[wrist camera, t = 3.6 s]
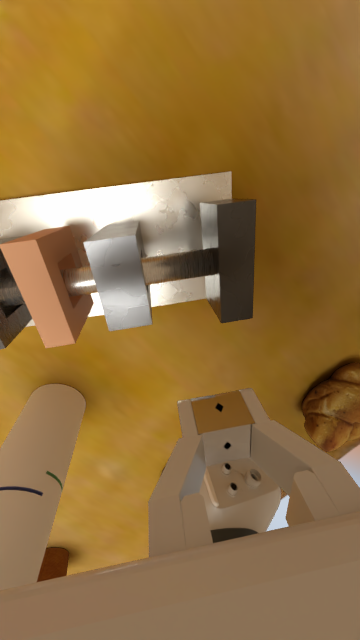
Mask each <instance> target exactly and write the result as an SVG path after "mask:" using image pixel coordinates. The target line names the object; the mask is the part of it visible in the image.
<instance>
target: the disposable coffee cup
mask: <svg viewBox="0 0 360 640" xmlns="http://www.w3.org/2000/svg"><path fill="white" fill-rule="evenodd" d="M68 557H69V552H68V551H67V550H65V549H63V548H47V549H46V550H45V554H44V557H43V561H42V564H41V568H40V571H39V575H38V579H37V582H41V581H45V580H50V579H54V578H59V577H63V576H66V575H67V566H68Z"/></svg>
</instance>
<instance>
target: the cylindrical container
mask: <svg viewBox="0 0 360 640" xmlns="http://www.w3.org/2000/svg"><path fill="white" fill-rule="evenodd" d="M85 408H86V402H85V399H84V397H83V396H82V394H81V393H80V392H79V391H77V390H76V389H74V388H73V387H70V386H67V385H63V384H48V385H44V386H41V387H39V388H37V389H36V390H35V391H34V392H33V393H32V394H31V396H30V398H29V399H28V401H27V403H26V405H25V406H24V408H23V410H22V412H21V413H20V415H19V417H18V419H17V420H16V422H15V424H14V426H13V427H12V429H11V431H10V433H9V434H8V436H7V438H6V440H5V441H4V443H3V445H2V447H1V448H0V590H4V589H9V588H14V587H18V586H23V585H27V584H32V583H36V582H37V579H38V575H39V571H40V568H41V564H42V561H43V557H44V554H45V550H46V547H47V543H48V539H49V536H50V532H51V529H52V525H53V522H54V518H55V515H56V511H57V507H58V504H59V500H60V497H61V493H62V490H63V486H64V483H65V479H66V475H67V472H68V468H69V465H70V461H71V458H72V454H73V451H74V447H75V444H76V440H77V436H78V433H79V429H80V426H81V422H82V419H83V415H84V412H85Z"/></svg>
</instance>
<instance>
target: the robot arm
mask: <svg viewBox="0 0 360 640" xmlns="http://www.w3.org/2000/svg"><path fill="white" fill-rule="evenodd" d="M177 403H178V411H179V417H180V424H181V430H182V436H183V438H179V439H178V441H177V444H176V446H175V448H174V450H173V452H172V454H171V456H170V458H169V460H168V462H167V464H166V466H165V468H164V470H163V472H162V475H161V477H160V479H159V481H158V483H157V485H156V487H155V489H154V491H153V493H152V495H151V498H150V500H149V558H144V559H140V560H135V561H131V562H126V563H122V564H117V565H113V566H108V567H104V568H99V569H95V570H90V571H86V572H81V573H77V574H72V575H68V576H63V577H59V578H54V579H50V580H45V581H41V582H36V583H32V584H27V585H23V586H18V587H14V588H9V589H4V590H0V640H360V488H359V487H358V485H357V484H356V483H355V481H354V480H353V478H352V477H351V476H350V474H349V473H348V472H347V470H346V469H345V468H344V466H343V465H342V464H341V462H339V461H338V460H336V459H335V458H333V457H331V456H330V455H328V454H327V453H325V452H324V451H322V450H320V449H319V448H317V447H316V446H314V445H313V444H311V443H309V442H308V441H306V440H305V439H303V438H302V437H300V436H298V435H297V434H295V433H294V432H292V431H290V430H289V429H287V428H286V427H284V426H283V425H281V424H279V423H278V422H276V421H275V420H273V421H270V419H269V417H268V416H267V414H266V412H265V410H264V409H263V407H262V405H261V403H260V401H259V400H258V398H257V396H256V394H255V393H254V391H253V389H251V388H247V389H242V390H236V391H231V392H226V393H221V394H216V395H212V396H205V397H199V398H193V399H188V400H181V401H177ZM280 488H281V489H282V490H283V491H285V492H286V493H287V494H288V495H289V496H290V499H289V504H288V508H287V514H286V520H287V523H288V525H289V527H285V528H280V529H276V530H271V531H266V530H267V528H268V527H269V525H270V523H271V521H272V519H273V517H274V515H275V513H276V511H277V509H278V507H279V504H280V500H281V489H280Z"/></svg>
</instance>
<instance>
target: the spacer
mask: <svg viewBox="0 0 360 640" xmlns="http://www.w3.org/2000/svg"><path fill="white" fill-rule="evenodd" d="M0 248H1V251H2V253H3V255H4V257H5V259H6V262H7V264H8V266H9V268H10V270H11V273H12V275H13V277H14V279H15V281H16V283H17V286H18V288H19V290H20V292H21V294H22V297H23V299H24V301H25V303H26V305H27V308H28V310H29V312H30V314H31V316H32V319H33V321H34V323H35V325H36V327H37V330H38V332H39V334H40V336H41V338H42V341H43V343H44V345H45V347H46V348H50V347H56V346H62V345H68V344H74V343H76V341H77V339H78V336H79V334H80V332H81V330H82V328H83V326H84V324H85V322H86V319H87V317H88V315H89V313H90V311H91V309H92V307H93V305H94V302H93V299H92V296H91V294H85V295H79V296H72V297H69V295H68V292H67V289H66V287H65V284H64V281H63V278H62V275H61V273H60V270H63V269H70V268H77V267H82V263H81V260H80V257H79V254H78V250H77V247H76V244H75V241H74V237H73V234H72V231H71V228H70V226H64V227H57V228H49V229H44V230H41V231H38V232H35V233H32V234H29V235H26V236H23V237H20V238H17V239H14V240H11V241H8V242H5V243H2V244H0Z"/></svg>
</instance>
